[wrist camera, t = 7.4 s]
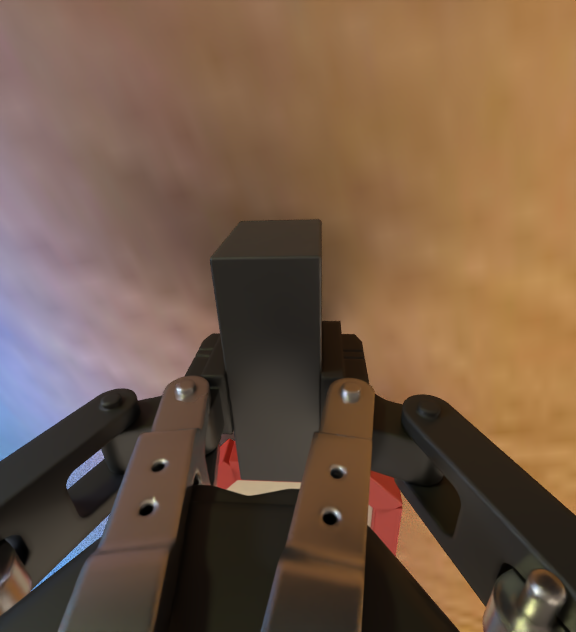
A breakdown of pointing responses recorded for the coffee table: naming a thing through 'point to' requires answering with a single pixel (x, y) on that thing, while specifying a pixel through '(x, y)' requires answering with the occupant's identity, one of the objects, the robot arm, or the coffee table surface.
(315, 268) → the octagonal paddle
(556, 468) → the coffee table surface
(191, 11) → the coffee table surface
